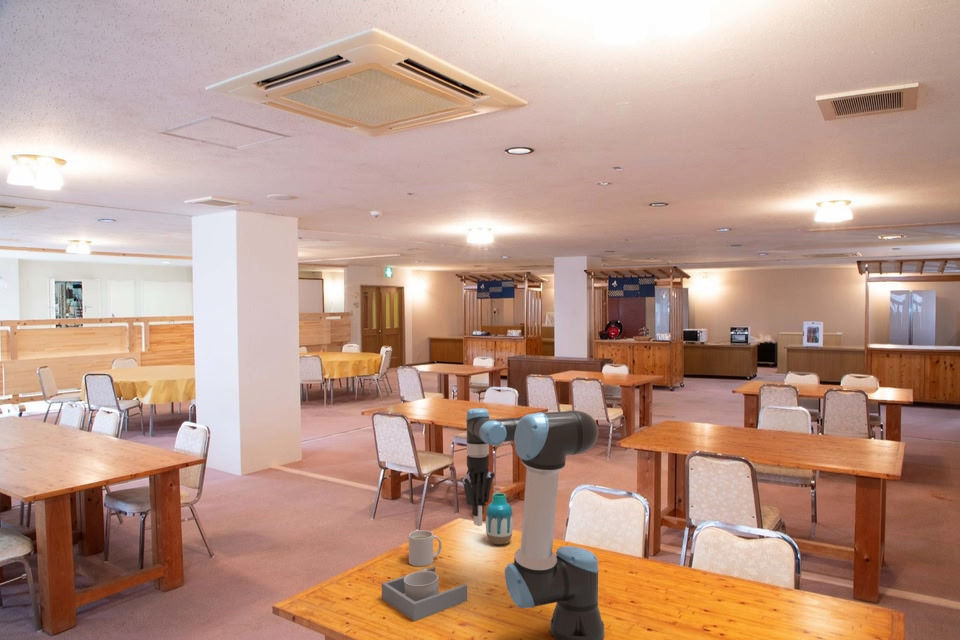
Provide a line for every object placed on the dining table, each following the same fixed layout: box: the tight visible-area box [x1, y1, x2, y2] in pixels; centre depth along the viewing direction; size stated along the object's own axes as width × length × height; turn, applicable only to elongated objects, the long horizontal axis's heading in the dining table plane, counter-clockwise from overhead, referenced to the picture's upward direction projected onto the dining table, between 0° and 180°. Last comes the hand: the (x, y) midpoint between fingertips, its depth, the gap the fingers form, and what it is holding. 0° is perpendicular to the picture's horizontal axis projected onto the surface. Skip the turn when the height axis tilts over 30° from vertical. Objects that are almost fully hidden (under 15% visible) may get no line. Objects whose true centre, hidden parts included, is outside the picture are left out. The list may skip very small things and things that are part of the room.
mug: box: [408, 529, 443, 567], centre depth 225 cm, size 11×10×10 cm
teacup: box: [404, 568, 440, 602], centre depth 195 cm, size 14×11×8 cm
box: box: [381, 566, 468, 622], centre depth 195 cm, size 18×20×5 cm
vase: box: [485, 492, 514, 545], centre depth 243 cm, size 11×11×19 cm
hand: (478, 524), depth 209 cm, fingers closed
